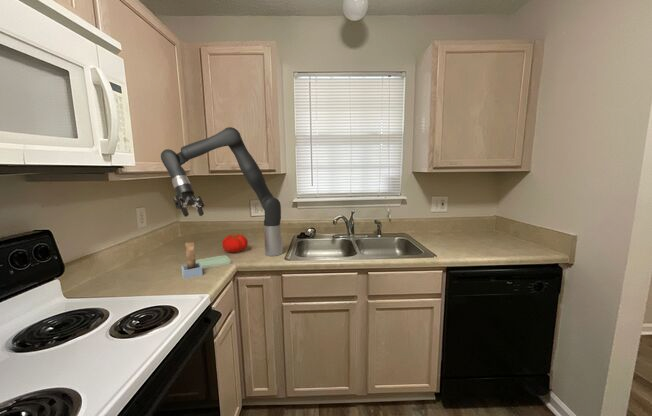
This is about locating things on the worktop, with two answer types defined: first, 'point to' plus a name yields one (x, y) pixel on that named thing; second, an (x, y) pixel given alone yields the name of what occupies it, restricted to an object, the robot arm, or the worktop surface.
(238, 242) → the tomato
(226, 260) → the tray
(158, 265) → the worktop surface
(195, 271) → the pale blue open box
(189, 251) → the dowel
